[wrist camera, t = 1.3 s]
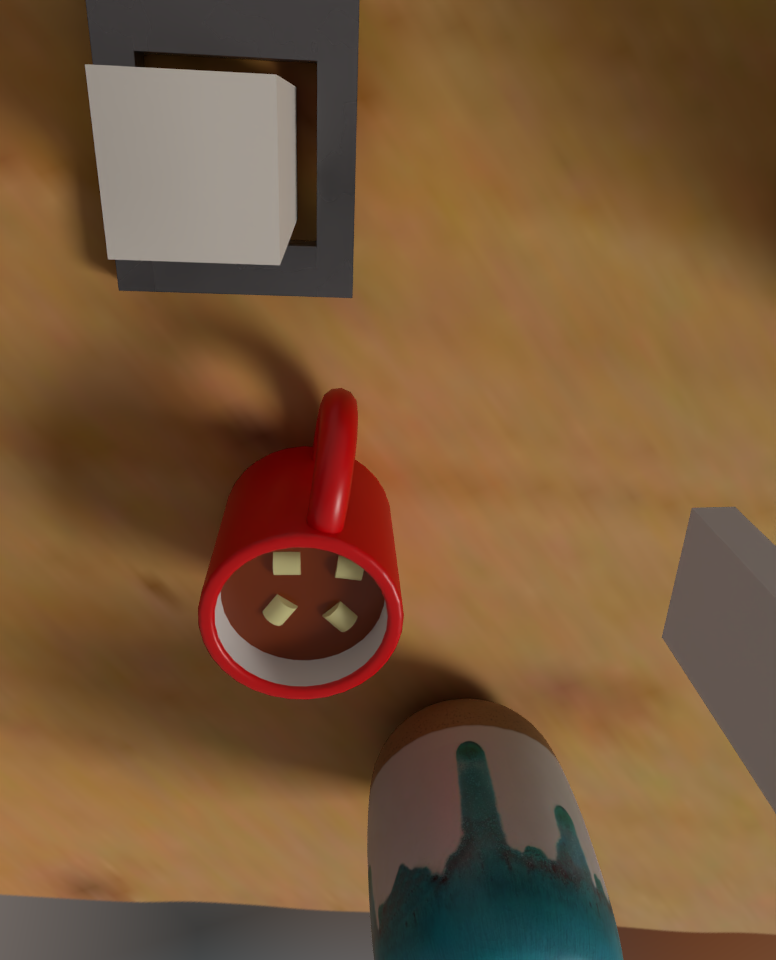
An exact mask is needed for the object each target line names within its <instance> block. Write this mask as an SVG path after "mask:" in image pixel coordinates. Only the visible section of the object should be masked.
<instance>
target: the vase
mask: <svg viewBox="0 0 776 960" xmlns="http://www.w3.org/2000/svg"><path fill="white" fill-rule="evenodd" d="M367 853H368V882H369V903H370V920H371V932H372V944H373V953H374V960H623V956H622V949H621V944H620V940H619V935H618V930H617V926H616V922H615V918H614V914H613V910H612V907H611V903H610V900H609V897H608V893H607V890H606V886H605V883H604V880H603V877H602V874H601V870H600V867H599V864H598V861H597V858H596V855H595V852H594V849H593V846H592V843H591V840H590V837H589V834H588V831H587V829H586V826H585V823H584V820H583V817H582V815H581V812H580V809H579V807H578V804H577V802H576V799H575V797H574V794H573V792H572V790H571V788H570V785H569V783H568V781H567V778H566V776H565V774H564V772H563V770H562V768H561V766H560V764H559V762H558V760H557V758H556V756H555V754H554V753H553V751H552V749H551V748H550V746H549V744H548V743H547V741H546V740H545V739H544V737H543V736H542V735H541V734H540V732H539V731H538V730H537V729H536V728H535V727H534V726H533V725H532V724H531V723H530V722H529V721H527V720H526V719H525V718H523V717H522V716H521V715H519V714H518V713H516V712H514V711H513V710H511V709H509V708H507V707H505V706H502V705H499V704H496V703H493V702H490V701H485V700H480V699H453V700H447V701H443V702H439V703H436V704H433V705H430V706H428V707H426V708H423V709H421V710H420V711H418V712H416V713H415V714H413V715H412V716H410V717H409V718H408V719H406V720H405V721H404V722H403V723H401V724H400V725H399V726H398V727H397V728H396V730H395V731H394V732H393V733H392V734H391V736H390V737H389V738H388V740H387V741H386V743H385V744H384V746H383V748H382V750H381V752H380V754H379V757H378V759H377V761H376V764H375V767H374V771H373V776H372V781H371V786H370V795H369V808H368V831H367Z"/></svg>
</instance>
